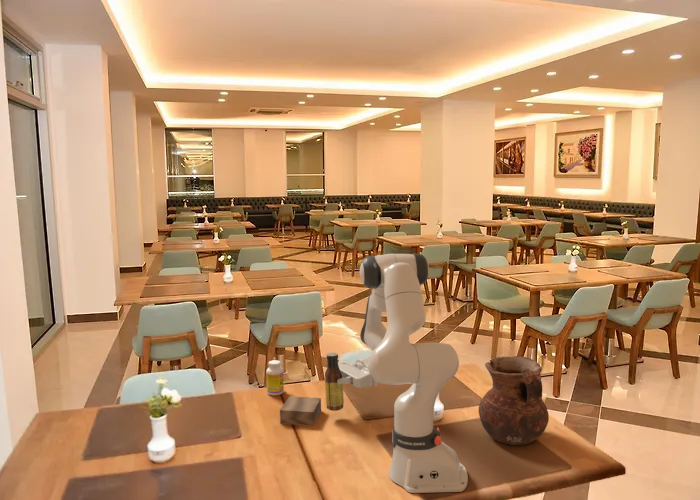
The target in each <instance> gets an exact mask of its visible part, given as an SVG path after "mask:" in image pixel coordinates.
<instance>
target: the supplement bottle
mask: <svg viewBox="0 0 700 500" xmlns="http://www.w3.org/2000/svg"><path fill="white" fill-rule="evenodd" d="M265 374H266V393H267V395H270V396H280V395H282V394H283V393H284V392H285V391H284V387H285V385H284V369H283V367H281V361H280V360H277V359H274V360H273V359H272V360H269V361H268V367H267V369H266V373H265Z"/></svg>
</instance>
